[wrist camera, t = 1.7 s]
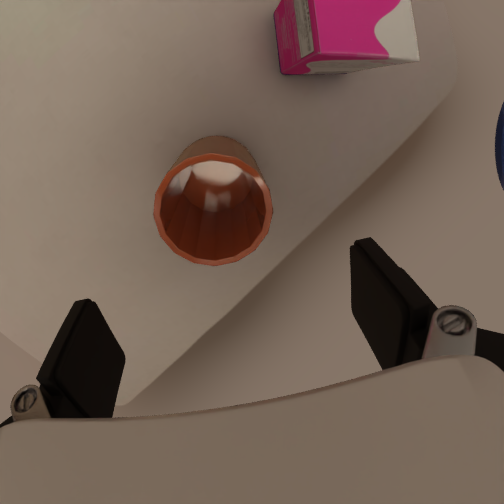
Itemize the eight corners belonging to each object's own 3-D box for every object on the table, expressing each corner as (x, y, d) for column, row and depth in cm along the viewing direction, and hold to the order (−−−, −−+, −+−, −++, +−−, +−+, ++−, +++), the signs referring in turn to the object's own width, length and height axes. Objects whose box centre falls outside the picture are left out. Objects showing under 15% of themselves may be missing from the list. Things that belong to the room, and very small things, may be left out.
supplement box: (339, 11, 20) (409, -29, 10) (346, 74, 23) (423, 68, 12) (271, 10, 20) (304, -45, 10) (278, 75, 22) (320, 60, 12)
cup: (248, 127, 24) (260, 142, 16) (263, 204, 27) (280, 252, 20) (166, 146, 24) (139, 171, 16) (187, 221, 28) (173, 275, 20)
